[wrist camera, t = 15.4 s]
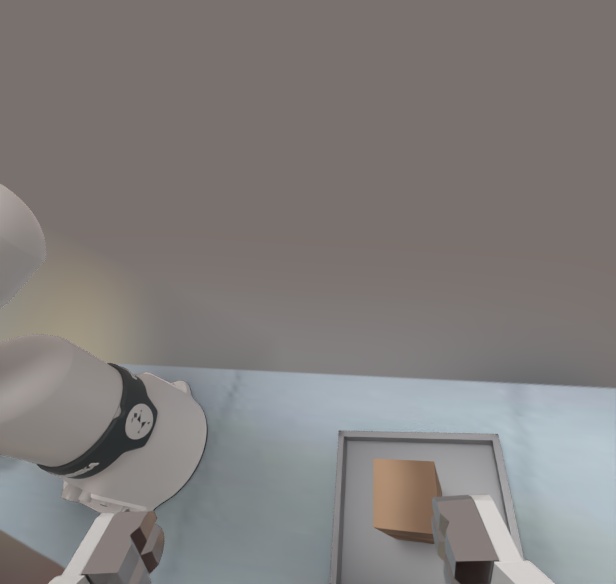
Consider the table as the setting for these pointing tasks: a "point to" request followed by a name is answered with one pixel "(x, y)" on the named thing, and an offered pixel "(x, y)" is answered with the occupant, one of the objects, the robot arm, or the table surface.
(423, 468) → the walnut block
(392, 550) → the charcoal tray
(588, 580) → the table surface
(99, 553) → the robot arm
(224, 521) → the table surface
